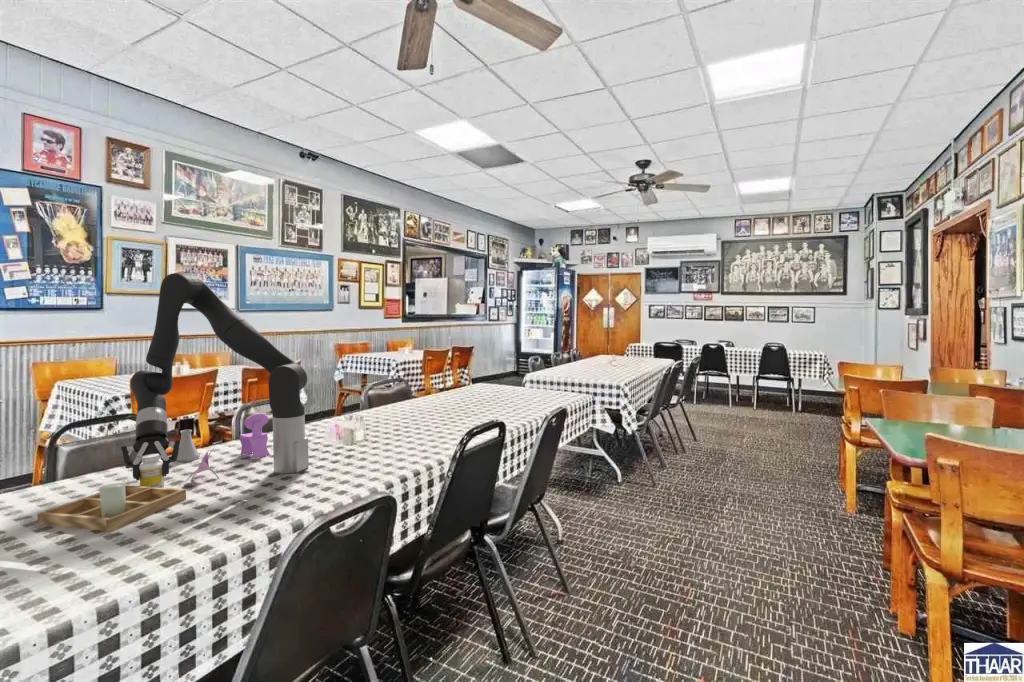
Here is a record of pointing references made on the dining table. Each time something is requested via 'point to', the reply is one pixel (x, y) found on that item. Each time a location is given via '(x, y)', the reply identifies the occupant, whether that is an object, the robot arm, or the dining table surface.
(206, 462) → the lily
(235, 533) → the dining table surface
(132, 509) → the caddy
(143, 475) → the supplement bottle
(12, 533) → the dining table surface
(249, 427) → the toy chair
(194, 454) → the flask
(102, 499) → the cylinder
